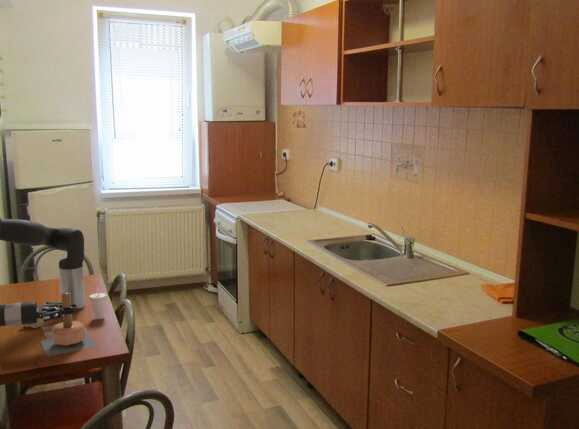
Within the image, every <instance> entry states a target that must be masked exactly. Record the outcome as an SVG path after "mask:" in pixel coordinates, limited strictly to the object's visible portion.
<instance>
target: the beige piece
mask: <svg viewBox="0 0 579 429" xmlns="http://www.w3.org/2000/svg"><path fill="white" fill-rule="evenodd" d="M44 322H45V321H43V318H42V319H40V318H37V323H36V324H27V325H25V327H27V328H29V327H30V328H33V329H37V328H39V327H40V328H41V326H44V324H43V323H44Z"/></svg>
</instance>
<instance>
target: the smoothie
mask: <svg viewBox="0 0 579 429" xmlns="http://www.w3.org/2000/svg"><path fill="white" fill-rule="evenodd" d="M96 290H97V292H96V293H93V294H92V293H91V294H90V295H89V300H90V303H91V304H90V305H91V310H92V314H93V319H94V320H102V319H104V318H105V311H106V303H107V302H106V300H107V298H108V296H107V294H106V293H104V292H100V284H99V283H98V284H97V288H96Z"/></svg>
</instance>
